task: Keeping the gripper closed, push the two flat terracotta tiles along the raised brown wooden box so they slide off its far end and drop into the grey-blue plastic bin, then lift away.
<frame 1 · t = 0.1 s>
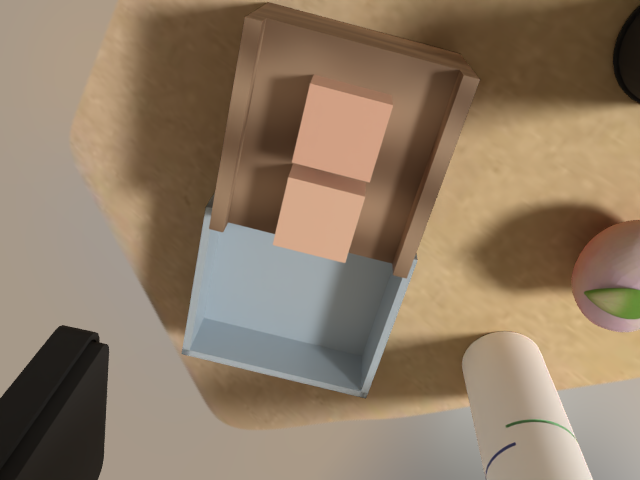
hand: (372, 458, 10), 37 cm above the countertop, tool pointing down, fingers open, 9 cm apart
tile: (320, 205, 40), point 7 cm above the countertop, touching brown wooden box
cylindrical container: (501, 361, 54), on the countertop
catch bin: (299, 274, 51), on the countertop
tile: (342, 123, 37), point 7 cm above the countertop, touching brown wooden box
decorative fruit: (613, 242, 47), on the countertop
brown wooden box: (340, 122, 44), on the countertop
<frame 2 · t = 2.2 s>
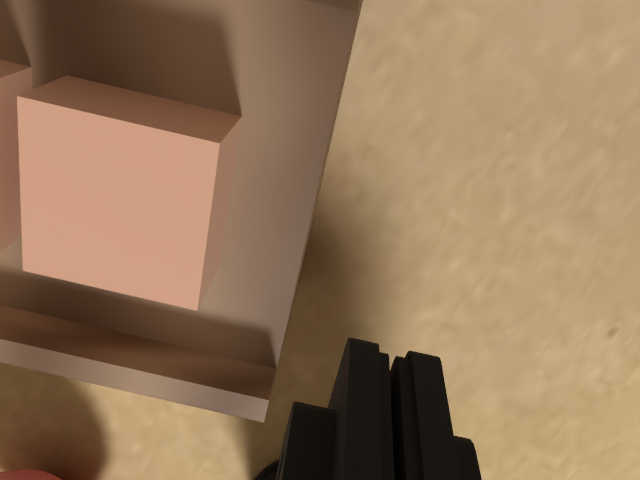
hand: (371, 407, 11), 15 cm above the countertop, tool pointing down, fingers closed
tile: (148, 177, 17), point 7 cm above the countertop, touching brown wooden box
decorative fruit: (64, 478, 35), on the countertop
brown wooden box: (161, 104, 24), on the countertop
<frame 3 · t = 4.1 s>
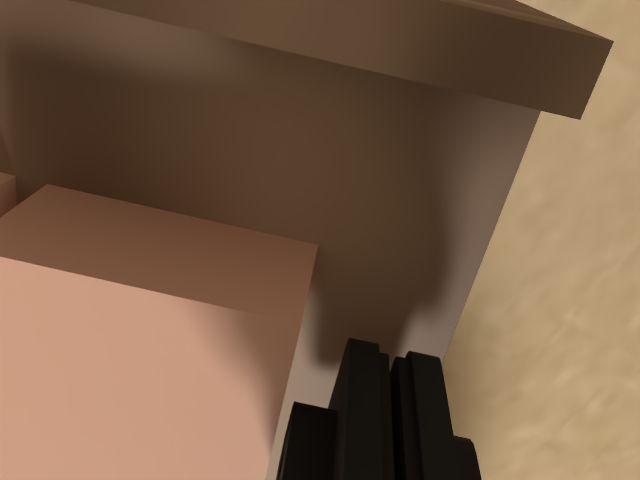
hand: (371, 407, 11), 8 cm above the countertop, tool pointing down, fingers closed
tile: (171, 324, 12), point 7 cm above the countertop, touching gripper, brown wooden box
brown wooden box: (192, 180, 18), on the countertop
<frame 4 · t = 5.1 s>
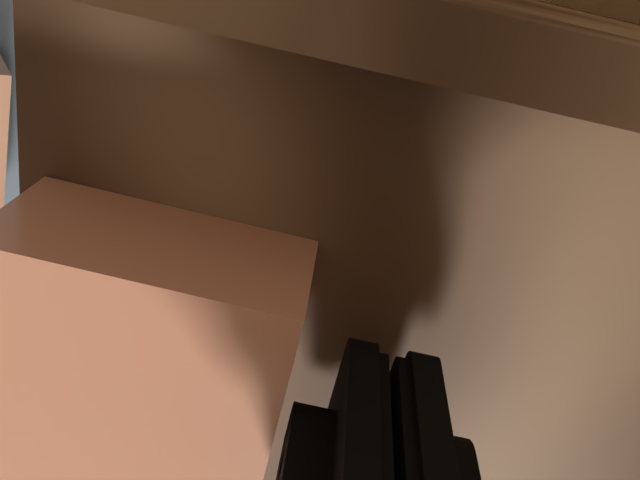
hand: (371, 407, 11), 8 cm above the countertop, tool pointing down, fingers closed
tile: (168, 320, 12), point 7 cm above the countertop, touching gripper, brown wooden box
brown wooden box: (368, 220, 18), on the countertop
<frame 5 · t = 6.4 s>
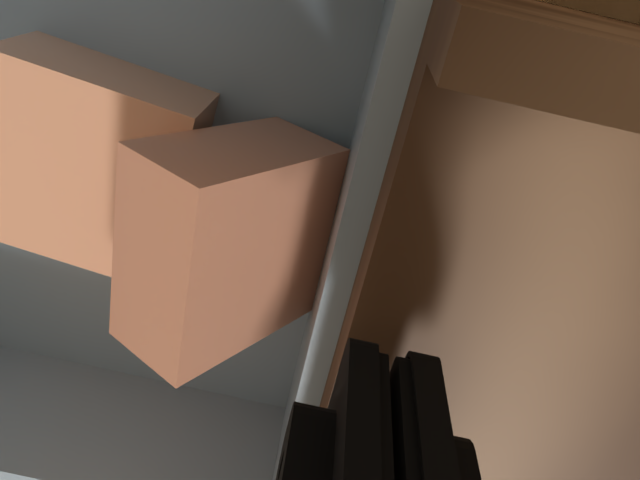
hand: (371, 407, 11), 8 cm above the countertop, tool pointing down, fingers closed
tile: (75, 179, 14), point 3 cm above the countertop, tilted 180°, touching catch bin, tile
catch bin: (126, 166, 18), on the countertop
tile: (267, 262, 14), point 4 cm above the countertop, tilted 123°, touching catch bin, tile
brown wooden box: (571, 267, 18), on the countertop
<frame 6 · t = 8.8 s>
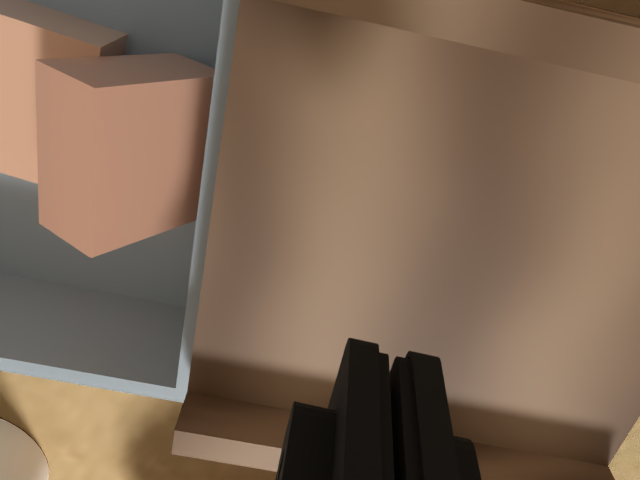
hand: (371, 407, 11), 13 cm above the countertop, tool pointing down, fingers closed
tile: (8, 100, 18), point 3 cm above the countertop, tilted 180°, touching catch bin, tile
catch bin: (56, 101, 21), on the countertop
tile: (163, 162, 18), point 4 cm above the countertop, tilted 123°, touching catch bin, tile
brown wooden box: (427, 178, 22), on the countertop
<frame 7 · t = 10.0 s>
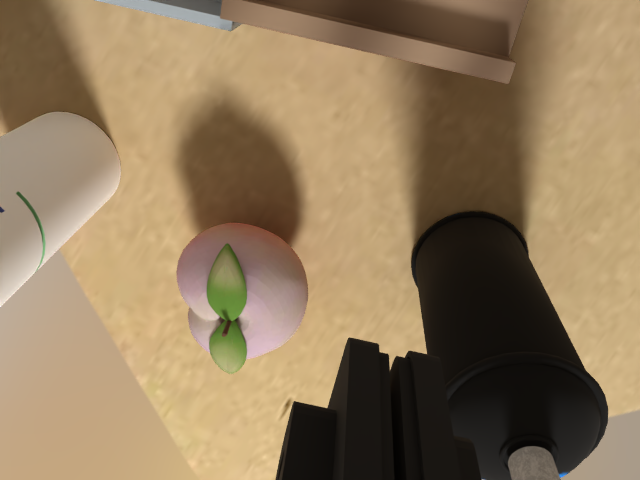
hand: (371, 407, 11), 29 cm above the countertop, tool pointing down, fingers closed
cylindrical container: (71, 161, 41), on the countertop
decorative fruit: (258, 252, 43), on the countertop
aerosol can: (468, 261, 42), on the countertop
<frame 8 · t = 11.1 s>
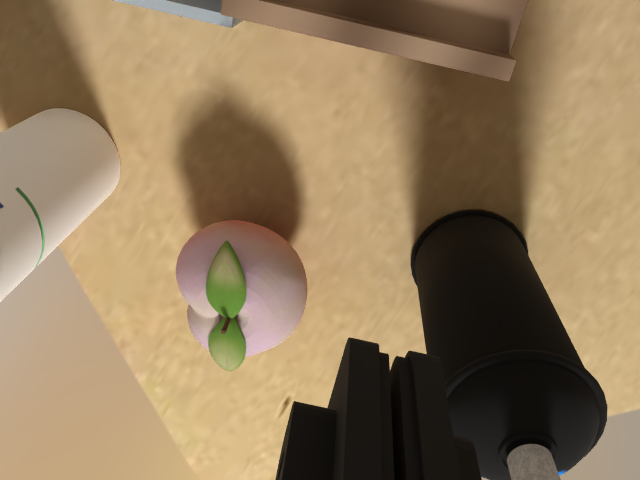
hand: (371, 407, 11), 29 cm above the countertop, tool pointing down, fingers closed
cylindrical container: (71, 157, 41), on the countertop
decorative fruit: (258, 250, 43), on the countertop
aerosol can: (467, 259, 42), on the countertop
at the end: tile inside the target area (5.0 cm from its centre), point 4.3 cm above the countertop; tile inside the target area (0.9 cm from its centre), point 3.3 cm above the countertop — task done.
